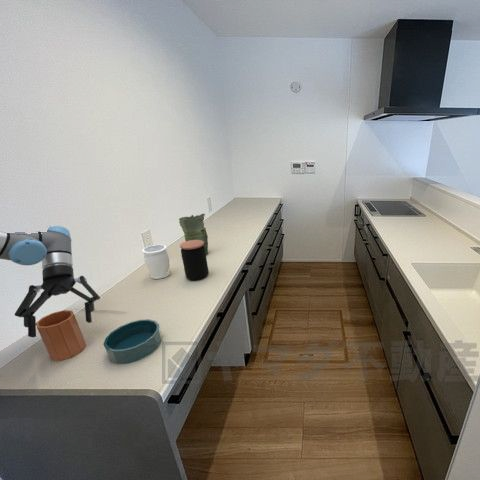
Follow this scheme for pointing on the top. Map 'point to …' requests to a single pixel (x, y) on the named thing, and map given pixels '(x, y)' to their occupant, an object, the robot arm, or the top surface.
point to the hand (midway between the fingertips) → (61, 329)
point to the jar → (157, 261)
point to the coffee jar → (194, 259)
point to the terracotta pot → (61, 335)
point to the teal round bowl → (133, 341)
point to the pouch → (194, 229)
